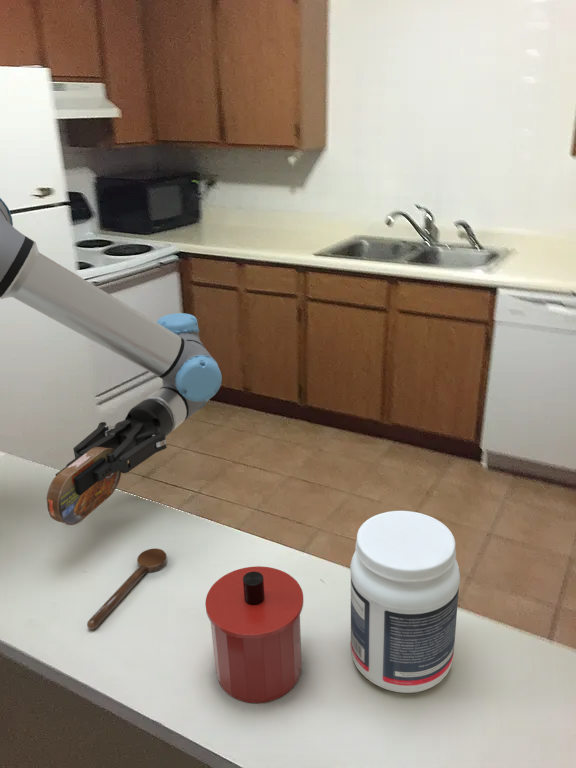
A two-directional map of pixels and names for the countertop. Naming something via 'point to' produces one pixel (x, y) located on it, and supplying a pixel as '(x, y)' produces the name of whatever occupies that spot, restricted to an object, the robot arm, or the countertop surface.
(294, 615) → the pot lid
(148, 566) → the spoon
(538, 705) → the countertop surface
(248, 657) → the pot
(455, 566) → the supplement tub
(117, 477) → the tin
